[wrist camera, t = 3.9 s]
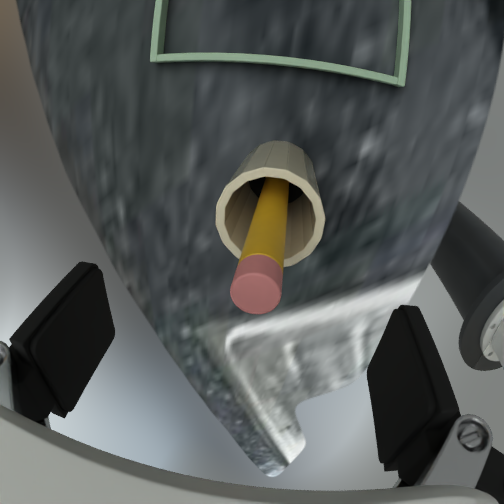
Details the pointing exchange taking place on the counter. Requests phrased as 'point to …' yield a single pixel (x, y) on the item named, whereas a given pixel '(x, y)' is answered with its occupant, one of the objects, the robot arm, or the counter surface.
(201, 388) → the counter surface
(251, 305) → the pencil
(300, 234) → the pen cup
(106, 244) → the counter surface
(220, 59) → the tray
